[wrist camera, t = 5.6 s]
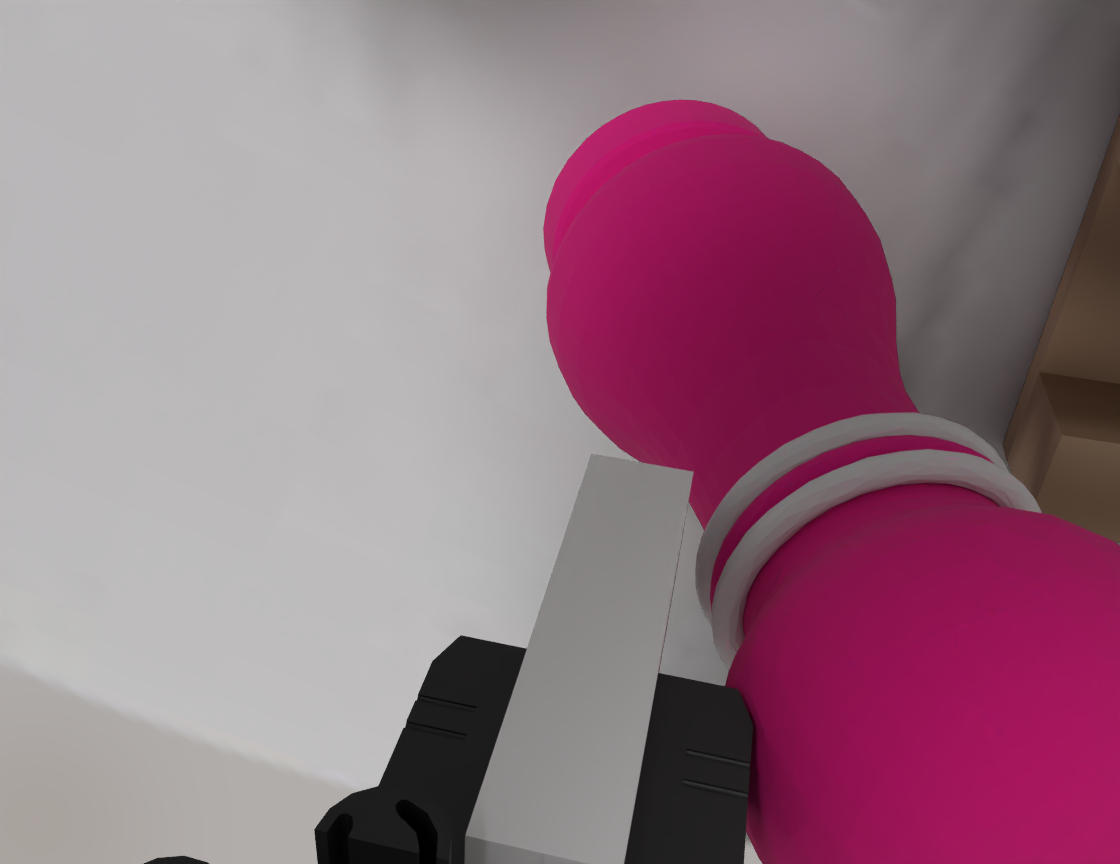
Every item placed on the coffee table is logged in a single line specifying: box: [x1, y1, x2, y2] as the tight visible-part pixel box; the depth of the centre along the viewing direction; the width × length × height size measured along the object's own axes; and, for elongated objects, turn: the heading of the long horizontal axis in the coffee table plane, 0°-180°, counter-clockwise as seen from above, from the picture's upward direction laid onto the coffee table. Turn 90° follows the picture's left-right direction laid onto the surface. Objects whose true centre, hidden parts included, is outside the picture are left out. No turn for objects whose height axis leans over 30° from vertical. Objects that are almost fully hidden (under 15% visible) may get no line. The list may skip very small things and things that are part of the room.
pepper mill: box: [543, 100, 1120, 864], centre depth 18 cm, size 7×7×20 cm
